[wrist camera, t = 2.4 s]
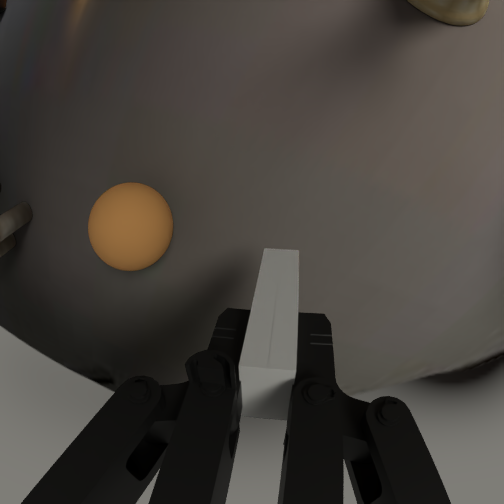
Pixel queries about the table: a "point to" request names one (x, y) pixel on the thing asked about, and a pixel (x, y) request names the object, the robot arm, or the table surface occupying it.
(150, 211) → the ball
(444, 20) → the hand bell
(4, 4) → the sunglasses case
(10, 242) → the pin
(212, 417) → the robot arm
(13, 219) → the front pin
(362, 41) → the table surface
